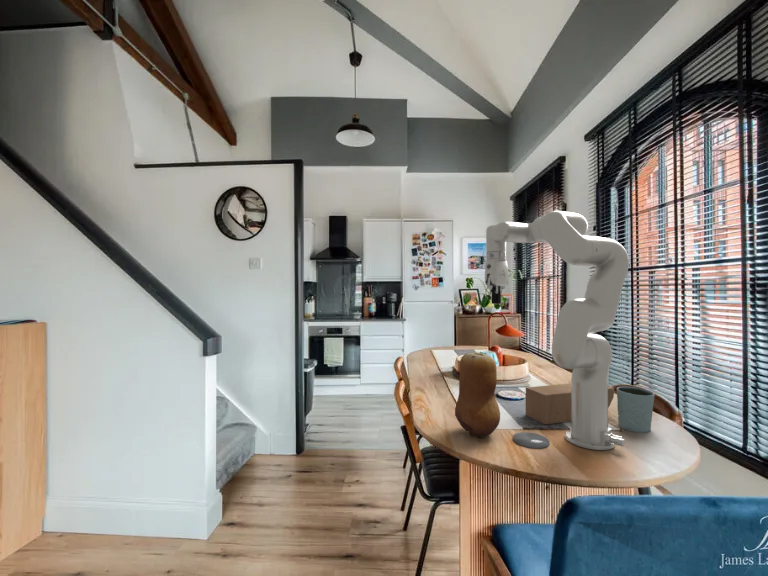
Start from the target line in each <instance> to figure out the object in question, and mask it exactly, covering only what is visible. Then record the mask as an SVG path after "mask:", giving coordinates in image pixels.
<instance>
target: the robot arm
mask: <svg viewBox="0 0 768 576" xmlns="http://www.w3.org/2000/svg"><path fill="white" fill-rule="evenodd" d="M588 227H589V224H588V221H587V219H586V217H584V215H581V214H580V213H576V212H571V211H562V210H553V211H552V210H551V211H549V212H547V213H546V214H544V215H543V216H542V215H541V216H538V217H536V218H535V219H534V220H533V222H527V223H526V222H517V221H508V220H506V221H501V222H499V223H497V224H493V225H488V227H486V230H485V233H486V235H485V236H486V237H485V238H486V239H485V242H486V243H485V244H486V250H485V257H486V258H485V266H484V267H485V268H484V283H485V285H486V288H487V289H488V290H489V291H490V294H491V304H493V305H501V304H502V293H503V290H504V289H506V286H508V285H509V284H510V283H509V281H510V279H509V277H510V276H509V266H508V261H507V243H518V244H530V243H531V244H532V243H543V242H545V243H548V245H549V246H550V247H551V248H552V249H553V251H555V253H556V254H557V255H558V257H560V259H562V261H564V262H565V263H566V264H568V265H571V266H582V267H584V266H585V267H586V266H587V267H590V266H591V267H595V270H594V272H593V273H592V275H591V276H590V278H589V279H588V282H587V285H586V291H585V293H584V296H583V298H574V299H570V300H568V301H566V302H565V303H564V304H563V306H562V307H561V308H560V310H559V313H558V316H557V320H556V325H555V330H554V334H553V339H552V343H551V355H552V359H553V360H554V363H555V364H556V365H557V366H559V367H560V368H563V369H565V370H572V373H571V379H570V383H571V421H570V430H567V431H566V432H565V433H564V434H565V435H564V437H565V439H566V440H567V441H568V442H569V443H570V444H573V445H574V446H577V447H581V448H584V449H588V450H595V451H607V450H608V451H609V450H612V449H614V448H615V445H616V446H619V447H625V443H626V442H625V441H626V440H625V439H624V438H623V436H620V435H616V434H614V433H613V429H612V428H610V427H609V408H608V386H609V378H610V377H609V375H610V368H611V363H612V356H613V351H612V350H613V349H612V346H611V344H610V343H609V341H608V340H607V339H606V338H605V337H603V336H602V335H601V334H595V333H596V332H597V333H599V332H604V331H607V330H610V329H611V327H612V326H613V325H614V322H615V320H616V316H617V312H618V309H619V304H620V300H621V297H622V296H621V294H622V291H623V288H624V287H623V286H624V284H625V281H626V278H627V275H628V272H629V266H630V258H629V255H628V251H627V250H626V248H625V247H624V246H623V245H622V244H621V243H619V242H618V241H617V240H615V239H612V238H610V237H609V238H608V237H602V236H593V235H586V233H587V231H588Z"/></svg>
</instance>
